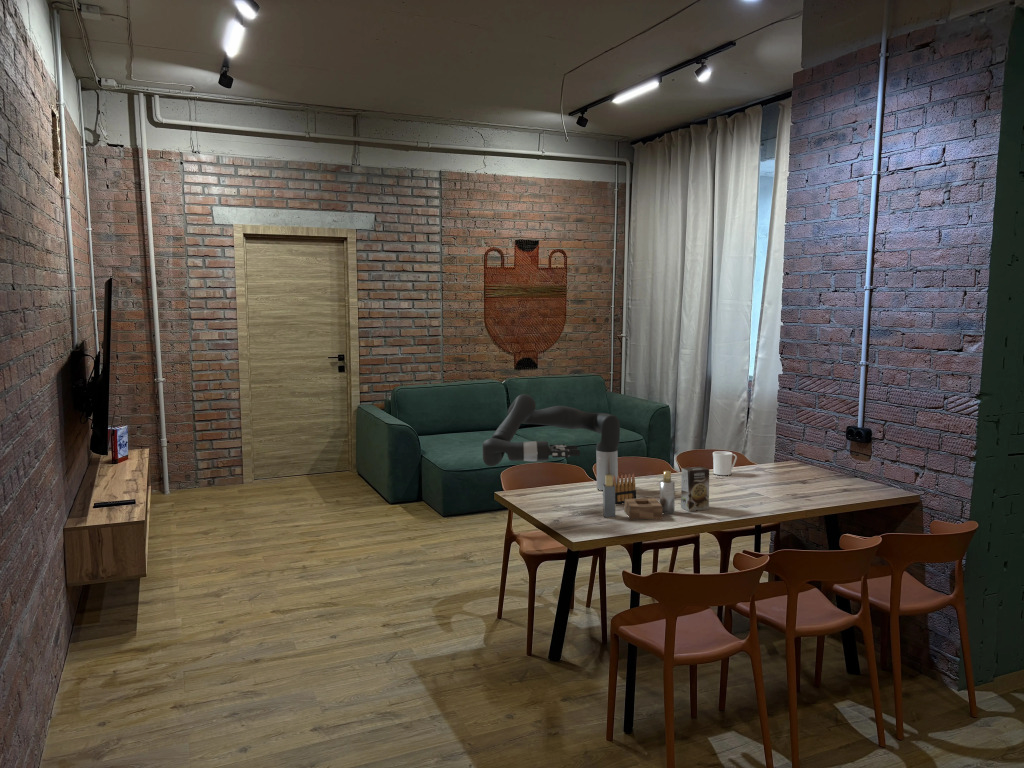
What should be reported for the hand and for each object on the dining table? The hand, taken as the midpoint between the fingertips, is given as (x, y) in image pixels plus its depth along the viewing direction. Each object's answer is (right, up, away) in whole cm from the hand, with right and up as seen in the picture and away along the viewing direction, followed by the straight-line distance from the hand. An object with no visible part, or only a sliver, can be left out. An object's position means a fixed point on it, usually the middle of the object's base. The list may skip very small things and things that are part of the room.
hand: (578, 450), depth 272 cm
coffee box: (+47, -24, +11) cm, 54 cm away
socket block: (+25, -25, +3) cm, 36 cm away
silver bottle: (+35, -25, +7) cm, 43 cm away
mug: (+75, -18, +67) cm, 103 cm away
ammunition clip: (+21, -24, +21) cm, 38 cm away
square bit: (+12, -25, +3) cm, 28 cm away
